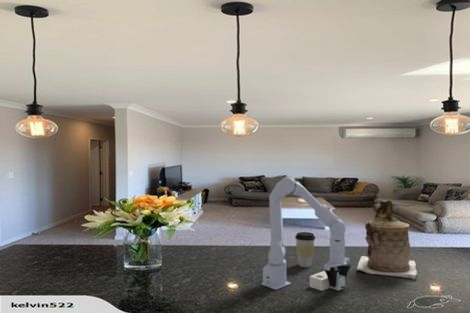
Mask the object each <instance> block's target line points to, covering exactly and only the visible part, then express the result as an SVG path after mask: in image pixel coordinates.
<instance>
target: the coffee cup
mask: <svg viewBox="0 0 470 313" xmlns="http://www.w3.org/2000/svg"><path fill="white" fill-rule="evenodd" d="M294 238H295V241H296V244H295V245H296V254H297V259H298V265H299V267H302V268H310V267H313V266H312V265H313V264H312V263H313V257H314V248H315V244H314V243H315V240H316V236H315V235H314V233H313V232H306V231H304V232H303V231H301V232H297V233H296V235H295V237H294Z"/></svg>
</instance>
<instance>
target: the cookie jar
mask: <svg viewBox="0 0 470 313" xmlns="http://www.w3.org/2000/svg"><path fill="white" fill-rule="evenodd" d="M394 205H395V203H394V202H392V200H391V199H388V200H380V203H376V204H374V205H373V207H372V208H373V209H372V210H373V212H374V213H376V214H375V215H374V218H372V219H371V220H370V221H366V223H365V224H364V225H365V226H364V229H365V231H366V232H365V234H366V236H365V241H366V244H368V246H367V252H366V255H365V256H364V255H362V256H360V259H359V260H358V264H357V267H356V271H362V272H364V273H366V274H368V275H369V274H370V275H380V276H389V277H390V276H391V277H400V278H407V279H412V280H416V277H417V276H418V271H417V268H416V266H417V265H416V261H415V260H411V244H410V240H409V239H410V237H409V229H410V224H409V223H407V222H402V221H400V220H398V219H397V218H396V217H394V216H393V206H394Z"/></svg>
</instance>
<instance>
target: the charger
mask: <svg viewBox="0 0 470 313" xmlns="http://www.w3.org/2000/svg"><path fill="white" fill-rule="evenodd" d="M329 289H331V290H335V291H338V292H339V291H341V290H343V289H344V290H347V291H350V288H349V287H346V280H345V276H343V275H339V274H337V278H336V286H335V287H331V286H330V288H329Z"/></svg>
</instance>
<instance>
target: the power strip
mask: <svg viewBox="0 0 470 313" xmlns="http://www.w3.org/2000/svg"><path fill="white" fill-rule="evenodd" d="M309 288H312V289H316V290H318V291H322V292H323V291H325V290H328V289H331V288H330V284H329V280H328V277H327V274H326V273H325V271H324V270H323V271H320V272H316V273H314V274H313V275H309Z"/></svg>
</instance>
